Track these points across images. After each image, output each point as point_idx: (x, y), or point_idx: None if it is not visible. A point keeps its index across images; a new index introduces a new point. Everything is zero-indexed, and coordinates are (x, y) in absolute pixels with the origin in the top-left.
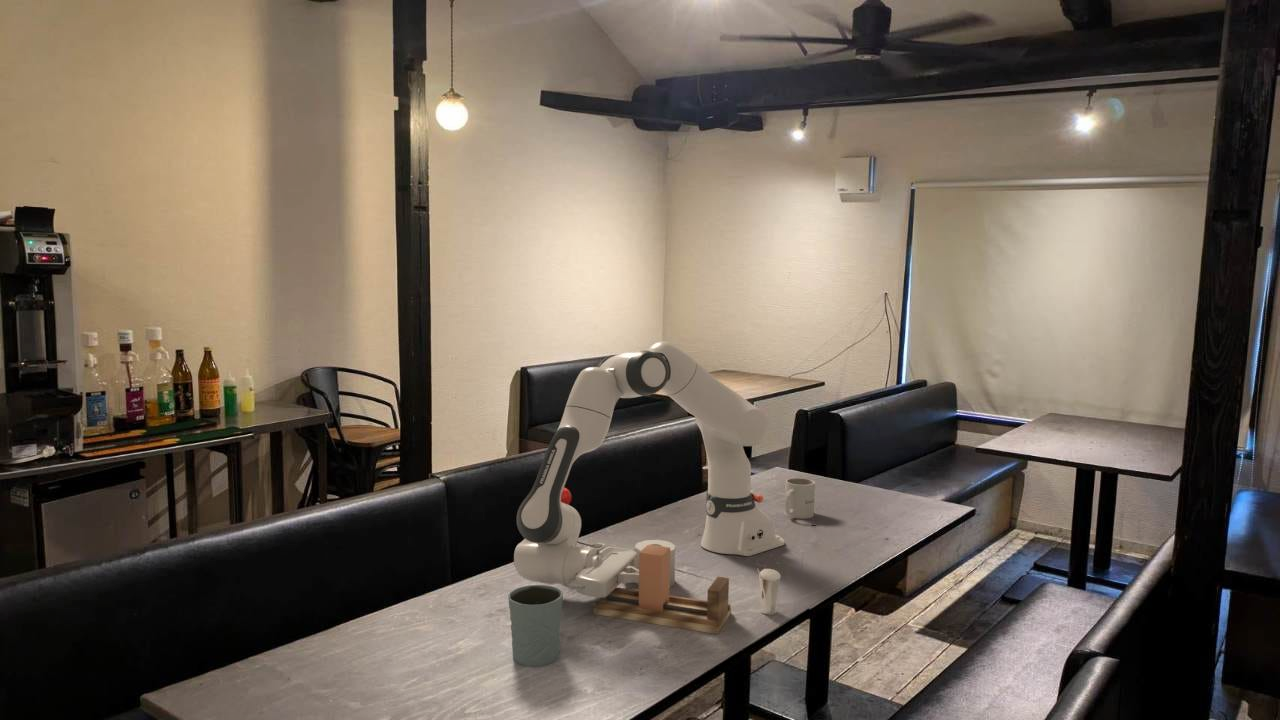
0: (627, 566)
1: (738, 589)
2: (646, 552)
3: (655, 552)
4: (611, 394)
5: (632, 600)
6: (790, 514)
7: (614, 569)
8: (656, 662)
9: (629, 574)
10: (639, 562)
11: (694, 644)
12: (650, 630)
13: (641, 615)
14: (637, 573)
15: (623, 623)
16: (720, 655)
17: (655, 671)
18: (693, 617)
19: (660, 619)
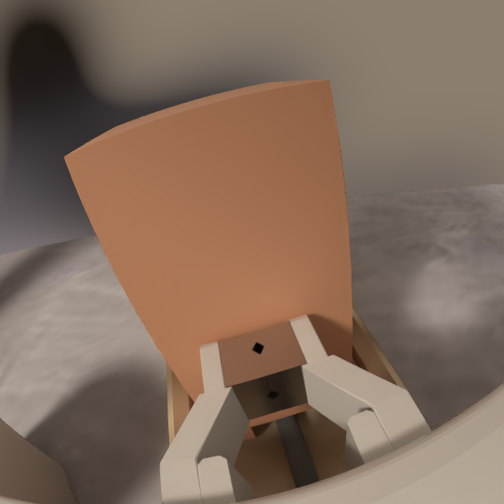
0: (189, 500)
1: (48, 317)
2: (277, 85)
3: (238, 90)
4: None
5: (311, 467)
6: None
7: (475, 453)
8: (479, 224)
9: (359, 368)
10: (341, 173)
11: (369, 230)
12: (406, 316)
13: (384, 364)
14: (287, 345)
15: (448, 402)
16: (363, 199)
17: (492, 211)
18: None
19: (353, 310)
